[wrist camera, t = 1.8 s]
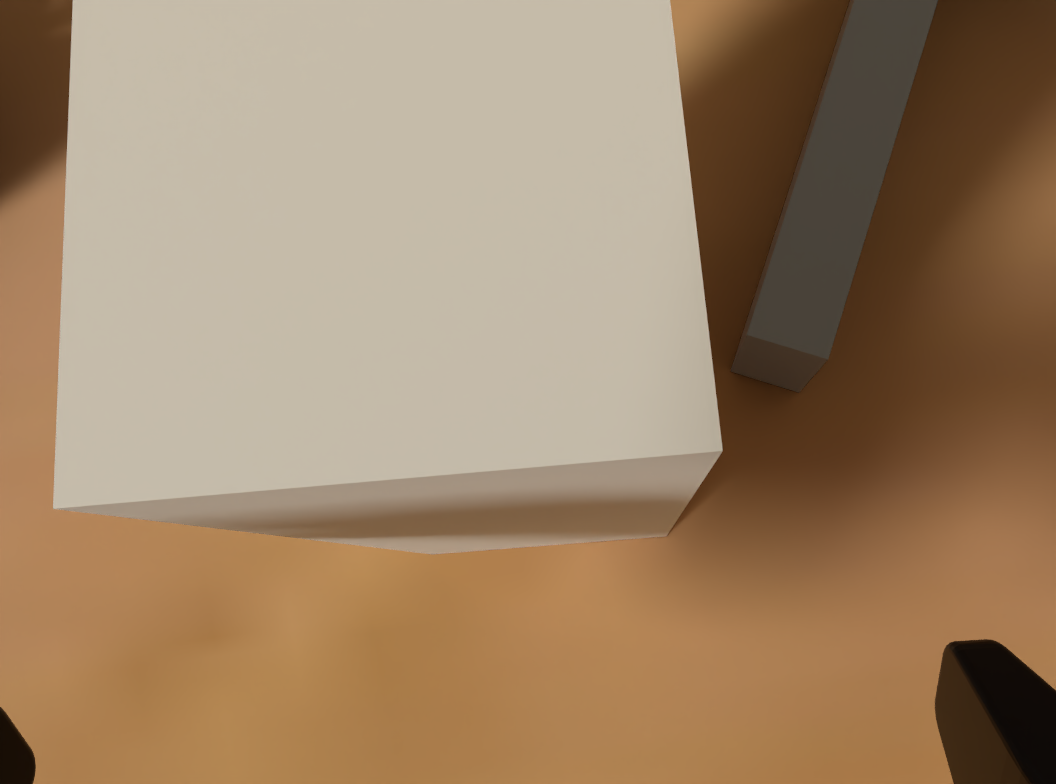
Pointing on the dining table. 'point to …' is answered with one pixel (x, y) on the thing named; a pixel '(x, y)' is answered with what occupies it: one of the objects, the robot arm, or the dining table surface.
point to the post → (382, 272)
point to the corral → (833, 192)
